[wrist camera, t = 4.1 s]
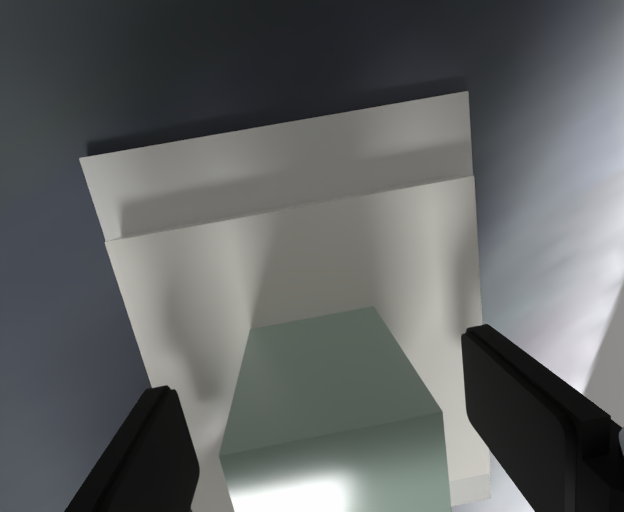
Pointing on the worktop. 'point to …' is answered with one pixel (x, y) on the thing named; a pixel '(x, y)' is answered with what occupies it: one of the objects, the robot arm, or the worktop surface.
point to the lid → (317, 347)
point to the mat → (286, 175)
